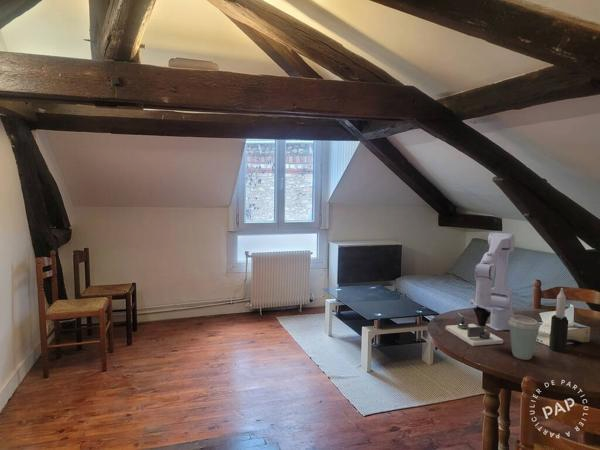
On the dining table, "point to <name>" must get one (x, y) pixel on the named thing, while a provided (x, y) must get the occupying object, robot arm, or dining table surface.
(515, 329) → the disposable coffee cup
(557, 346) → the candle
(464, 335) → the base
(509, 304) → the robot arm
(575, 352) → the dining table surface
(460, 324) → the knob
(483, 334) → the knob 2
